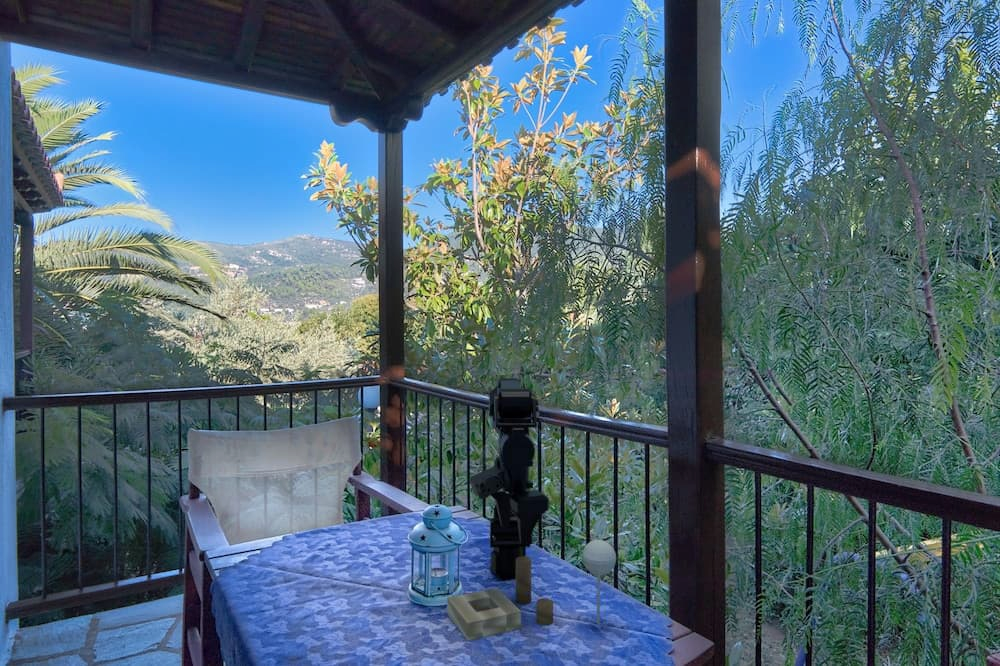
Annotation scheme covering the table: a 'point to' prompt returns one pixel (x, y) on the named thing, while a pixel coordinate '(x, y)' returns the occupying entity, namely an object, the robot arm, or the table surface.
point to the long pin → (523, 580)
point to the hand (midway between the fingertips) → (513, 535)
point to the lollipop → (599, 563)
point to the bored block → (483, 613)
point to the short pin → (544, 611)
